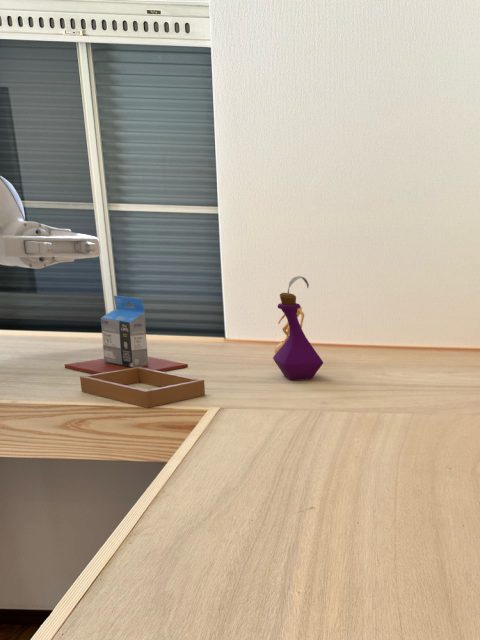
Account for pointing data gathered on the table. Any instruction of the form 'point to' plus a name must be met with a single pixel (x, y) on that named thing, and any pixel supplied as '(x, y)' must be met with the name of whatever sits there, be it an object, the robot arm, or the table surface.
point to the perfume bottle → (296, 343)
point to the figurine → (288, 328)
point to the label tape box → (125, 333)
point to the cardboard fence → (116, 389)
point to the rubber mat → (102, 366)
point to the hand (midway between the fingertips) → (71, 248)
